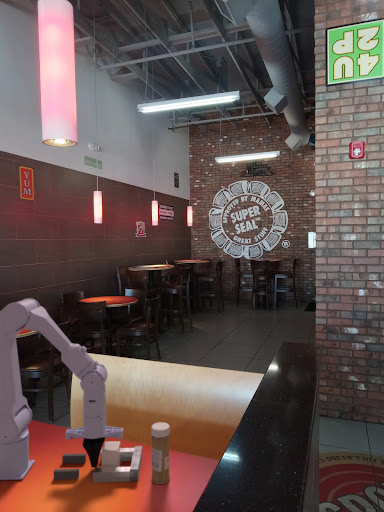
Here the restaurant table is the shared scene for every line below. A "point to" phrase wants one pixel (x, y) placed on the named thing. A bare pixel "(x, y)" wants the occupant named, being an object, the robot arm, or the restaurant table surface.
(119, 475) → the block
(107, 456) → the plug
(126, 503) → the restaurant table surface
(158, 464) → the sprinkles bottle
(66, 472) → the pair of grey blocks
